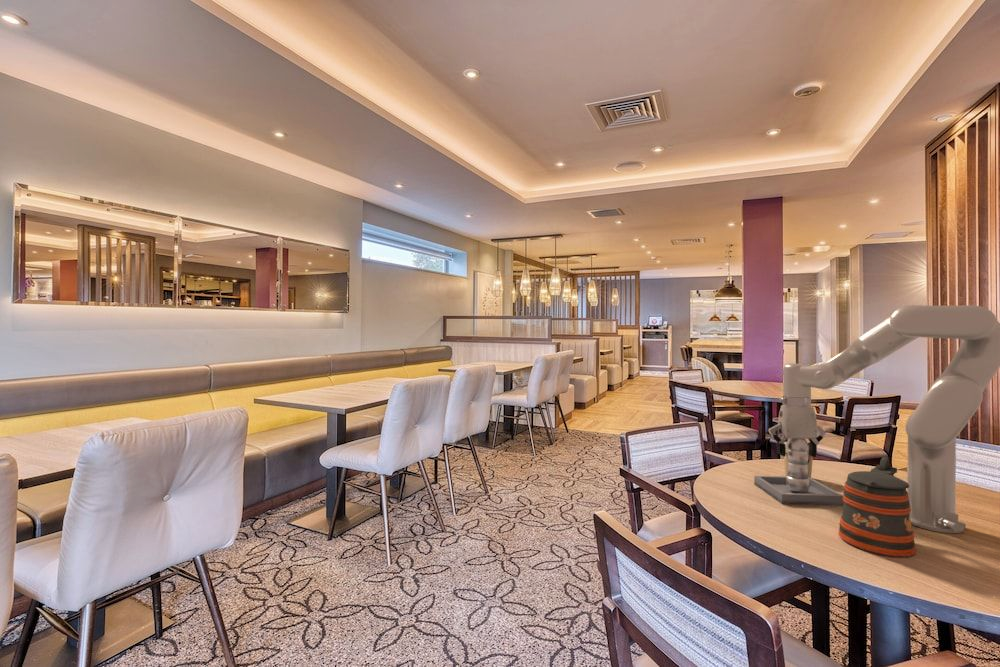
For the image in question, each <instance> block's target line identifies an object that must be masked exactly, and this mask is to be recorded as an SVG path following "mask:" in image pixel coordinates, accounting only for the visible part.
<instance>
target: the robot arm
mask: <svg viewBox="0 0 1000 667" xmlns="http://www.w3.org/2000/svg"><path fill="white" fill-rule="evenodd" d="M918 338H927V339H957V340H960V345H959V347H958V349H957V351H956V352H955V354H954V356H952V359H951V361H950V362H949V364H948V365H947V366H946V368H945V369H944V371H943V372H942V373H941V374H940V376H938V377H937V378H936V379H935V380H934V381H933V383H932V384H931V386H930V388H929V389H928V390H927V392H926V394H925V395H924V397H923V398H922V399H921V400H920V402H919V404H918V405H917V406H916V408H915V410H914V411H912V412H911V413H910V415H909V416H908V418H907V420H906V422H905V425H904V426H905V432H906V435H907V464H906V465H907V470H906V471H907V474H906V475H907V480H906V482H907V483H908V485H909V488H906V491H907V492H908V496H909V503H910V509H911V512H910V519H911V526H914V527H918V528H920V529H924V530H929V531H932V532H938V533H945V534H959V533H963V532H964V531H965V528H967V525H966V523H963V522H962V521H959V514H957V513H956V479H957V478H956V471H957V468H956V466H957V465H956V464H957V461H956V460H957V459H956V458H957V456H956V454H957V452H956V450H957V448H956V447H957V444H956V442H957V437H958V436H959V435H960V434H961V431H962V430H963V429H964V428H965V427H966V426H967V424H968V423H969V421H970V420H971V419H972V417H973V416H974V414H975V413H976V412H977V411H978V409H979V408H980V406H981V404H982V403H983V399H984V391H985V389H986V388H987V386H988V384H990V382H991V381H992V379H993V378H994V376H995V375H996V373H997V372H998V370H999V369H1000V322H999V320H998V319H997V317H996V315H995V313H994V312H992V311H991V310H990V309H988V308H987V307H984V306H980V305H975V304H974V305H971V304H969V305H966V304H964V305H922V304H921V305H920V304H919V305H915V304H911V305H910V304H909V305H904V306H900V307H898V308H897V309H895V310H894V311H893V312H892V314H891V315H889V316H888V317H886V318H885V319H884V320H882V321H881V322H879V323H878V324H876V325H875V326H873V327H871V328H870V329H867V331H865V332H864V333H862V334H861V335H859V336H858V337H856V338H855V339H854V340H853V342H852V343H851V344H850V345H849V346H848V347H846V348H845V349H844V350H842V351H841V352H839V353H838V354H837V355H835V356H834V357H832V358H831V359H829V360H827V361H826V362H825V363H822V364H818V365H817V364H816V365H809V364H806V363H805V364H804V363H787V364H785V365H784V366H783V368H782V369H783V370H782V380H783V381H782V391H783V392H782V397H779V398H778V401H779V403H781V405H780V409H779V412H778V419H777V420H778V423H777V424H775V425H774V426H772V427H769V428H768V430H767V431H768V433H769V435H770V436H771V438H772V439H773V440H774V441H775V442H776V451H777V453H778V455H779V456H781V457H784V456H786V445H785V444H784V442H786V440H787V439H790V438H799V439H805V440H808V441H807V443H808V444H809V447H810V449H809V455H810V456H812V457H813V458H816V457H817V453H818V452H817V451H818V450H817V448H818V445H819V443H820V442H821V441H822V440H823V439H824V437H825V435H826V433H827V431H826V430H825V429H823V428H822V427H820V426H818V420H817V415H816V410H815V407H814V406H812V388H813V389H814V388H815V389H819V390H830V389H833V388H834V387H837V386H839V385H840V384H843V383H844V382H845V381H847V380H849V379H850V378H852V377H854V376H855V375H857V374H858V373H860V372H862V371H863V370H865V369H866V368H868V367H870V366H872V365H875V364H877V363H879V362H881V361H883V360H884V359H885V358H888V357H889V356H890V355H892V354H894V353H895V352H897V351H898V350H900V349H903V348H904V347H905V346H907V345H909V344H910V343H912V342H913V341H915V340H916V339H918ZM777 431H778V435H777V433H776V432H777Z"/></svg>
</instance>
